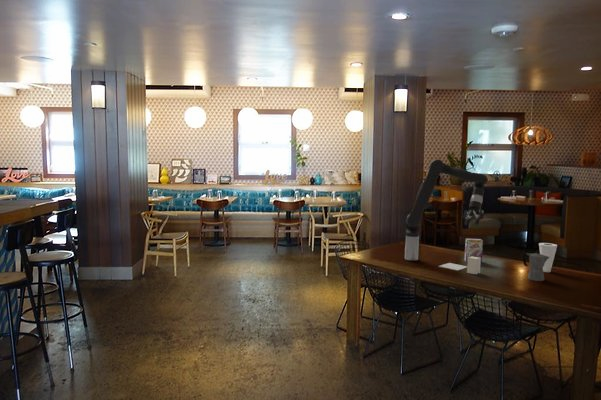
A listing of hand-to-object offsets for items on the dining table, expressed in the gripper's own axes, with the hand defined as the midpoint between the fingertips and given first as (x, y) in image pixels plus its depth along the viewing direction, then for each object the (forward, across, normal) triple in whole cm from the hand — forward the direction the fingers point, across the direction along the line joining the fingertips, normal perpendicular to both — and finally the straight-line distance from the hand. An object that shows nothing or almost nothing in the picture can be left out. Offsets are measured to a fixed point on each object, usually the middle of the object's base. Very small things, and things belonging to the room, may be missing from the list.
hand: (471, 224), depth 303 cm
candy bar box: (+19, -12, +26) cm, 34 cm away
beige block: (+32, +8, +3) cm, 33 cm away
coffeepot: (+27, +35, +24) cm, 51 cm away
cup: (+15, +29, +46) cm, 57 cm away
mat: (+30, -10, +4) cm, 31 cm away
